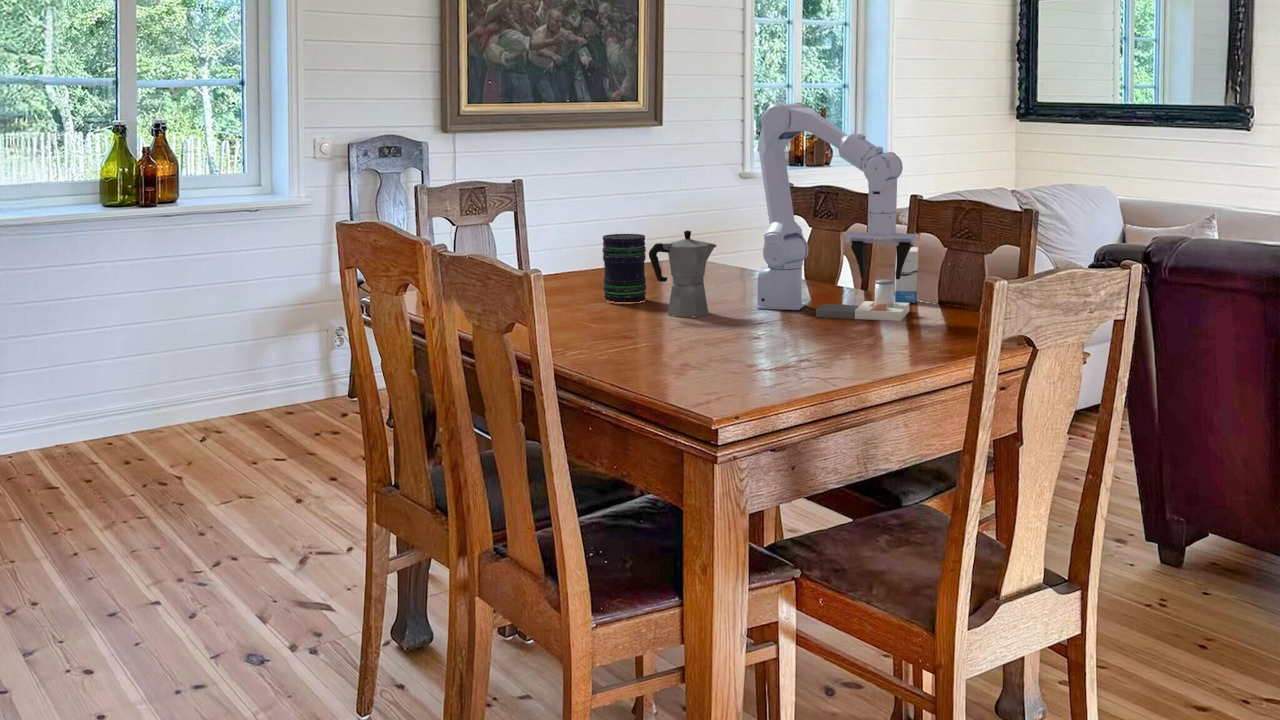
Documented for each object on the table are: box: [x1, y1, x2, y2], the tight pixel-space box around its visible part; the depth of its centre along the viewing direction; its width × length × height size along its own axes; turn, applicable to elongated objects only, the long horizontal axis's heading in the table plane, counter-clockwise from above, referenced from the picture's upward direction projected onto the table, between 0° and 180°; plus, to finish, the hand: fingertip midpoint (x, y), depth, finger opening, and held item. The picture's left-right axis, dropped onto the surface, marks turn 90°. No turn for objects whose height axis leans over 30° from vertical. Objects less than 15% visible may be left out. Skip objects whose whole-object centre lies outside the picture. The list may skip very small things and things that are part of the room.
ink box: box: [894, 246, 919, 304], centre depth 286 cm, size 8×5×12 cm, turn 168°
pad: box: [815, 303, 861, 320], centre depth 271 cm, size 8×8×2 cm
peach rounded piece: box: [873, 303, 887, 311], centre depth 266 cm, size 3×3×3 cm
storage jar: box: [602, 233, 647, 302], centre depth 291 cm, size 10×10×15 cm
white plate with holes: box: [854, 300, 911, 322], centre depth 270 cm, size 10×12×2 cm
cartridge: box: [874, 279, 895, 308], centre depth 271 cm, size 4×4×7 cm
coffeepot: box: [648, 230, 717, 318], centre depth 272 cm, size 15×9×18 cm, turn 110°
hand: (880, 278), depth 265 cm, fingers open, 7 cm apart
